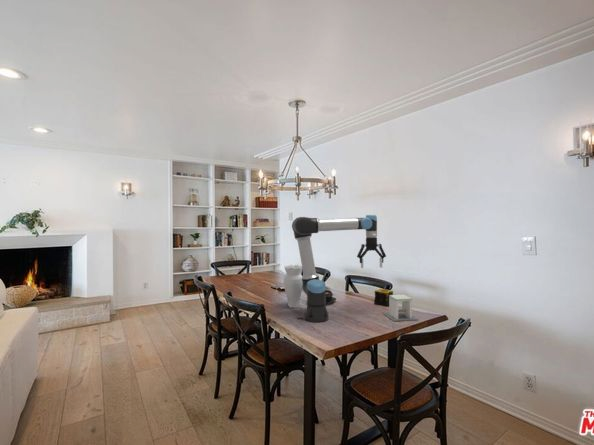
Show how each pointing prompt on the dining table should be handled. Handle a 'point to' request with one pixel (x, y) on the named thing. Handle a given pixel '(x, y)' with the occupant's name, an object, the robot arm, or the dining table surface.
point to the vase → (293, 284)
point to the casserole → (329, 297)
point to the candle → (382, 297)
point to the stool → (405, 305)
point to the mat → (399, 317)
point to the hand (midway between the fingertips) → (371, 267)
